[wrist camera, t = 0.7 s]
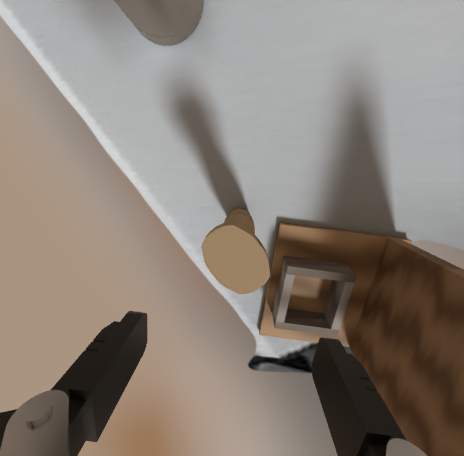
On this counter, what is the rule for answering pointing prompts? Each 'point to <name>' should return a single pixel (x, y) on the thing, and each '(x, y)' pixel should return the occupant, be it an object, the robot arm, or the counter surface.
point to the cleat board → (379, 321)
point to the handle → (236, 254)
